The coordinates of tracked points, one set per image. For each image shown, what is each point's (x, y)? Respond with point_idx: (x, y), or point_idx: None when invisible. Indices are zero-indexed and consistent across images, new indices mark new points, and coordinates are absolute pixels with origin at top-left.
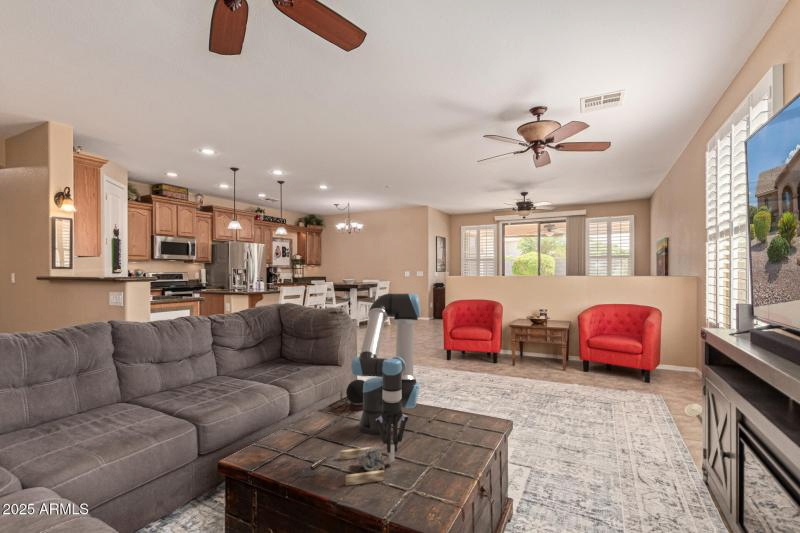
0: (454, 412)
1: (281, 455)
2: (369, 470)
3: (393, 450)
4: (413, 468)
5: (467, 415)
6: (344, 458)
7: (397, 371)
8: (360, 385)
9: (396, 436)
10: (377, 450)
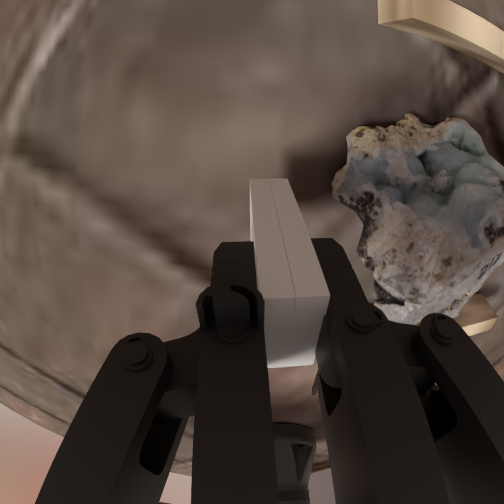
0: (36, 422)
1: None
2: (467, 123)
3: (270, 238)
4: (98, 107)
5: (6, 403)
6: (473, 297)
7: None
8: None
9: (215, 448)
10: (438, 270)
